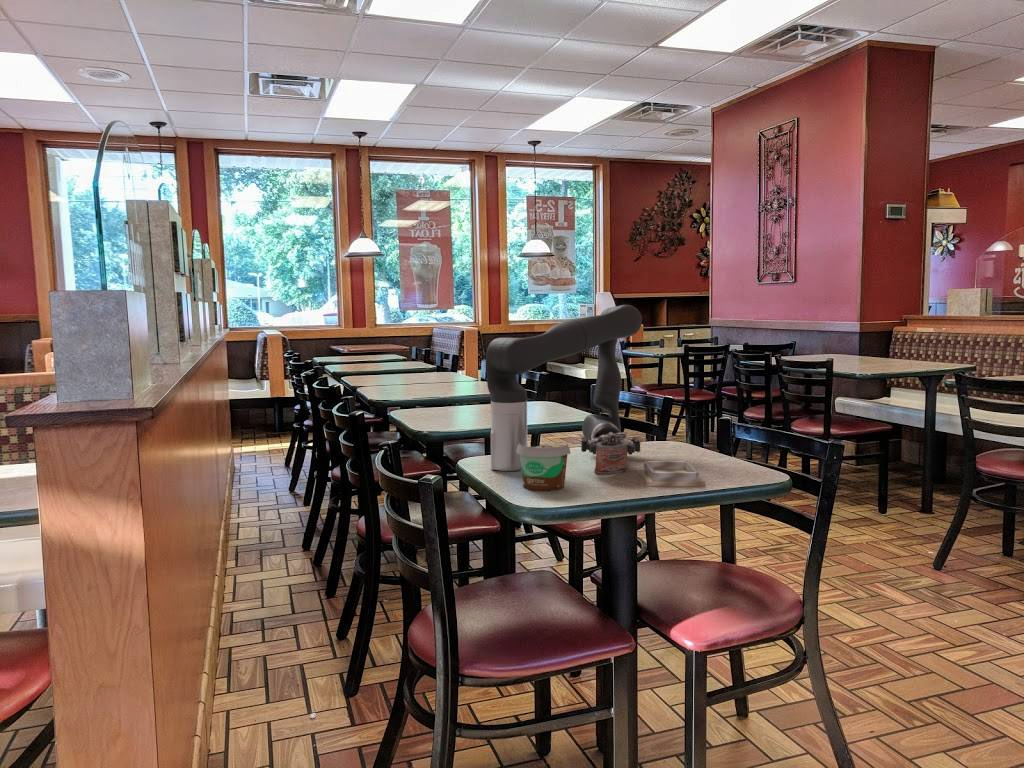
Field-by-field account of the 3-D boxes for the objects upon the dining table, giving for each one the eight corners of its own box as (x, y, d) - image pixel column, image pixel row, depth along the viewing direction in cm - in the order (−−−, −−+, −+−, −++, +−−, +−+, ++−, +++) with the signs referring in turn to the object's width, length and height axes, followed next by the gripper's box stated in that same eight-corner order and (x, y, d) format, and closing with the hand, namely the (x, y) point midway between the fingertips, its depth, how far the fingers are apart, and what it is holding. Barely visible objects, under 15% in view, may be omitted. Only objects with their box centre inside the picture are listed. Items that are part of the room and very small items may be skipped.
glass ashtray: (647, 486, 171) (647, 473, 171) (638, 473, 185) (638, 461, 185) (704, 486, 171) (705, 473, 170) (692, 473, 185) (692, 460, 184)
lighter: (597, 476, 177) (600, 437, 174) (592, 470, 180) (594, 432, 177) (629, 473, 179) (632, 434, 176) (623, 466, 182) (626, 429, 179)
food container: (511, 491, 167) (510, 447, 167) (517, 485, 173) (517, 442, 173) (566, 494, 165) (565, 448, 164) (570, 487, 170) (570, 443, 170)
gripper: (578, 423, 193) (582, 434, 177) (634, 424, 192) (643, 434, 176) (578, 452, 193) (582, 465, 177) (634, 453, 193) (643, 466, 177)
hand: (612, 450), depth 177 cm, fingers closed on lighter, 8 cm apart
